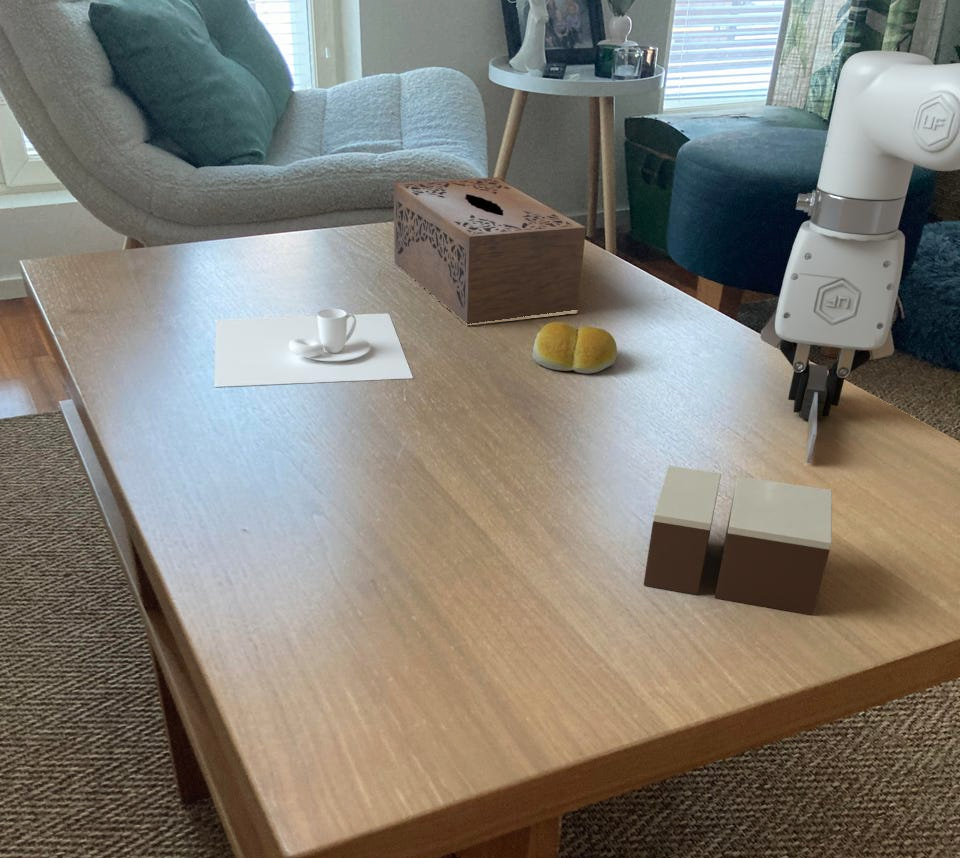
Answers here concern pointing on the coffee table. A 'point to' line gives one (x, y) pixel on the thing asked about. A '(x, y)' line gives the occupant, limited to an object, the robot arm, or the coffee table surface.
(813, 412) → the knife
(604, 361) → the bread roll
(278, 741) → the coffee table surface
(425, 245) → the tissue box cover
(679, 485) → the cake slice
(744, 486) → the cake
